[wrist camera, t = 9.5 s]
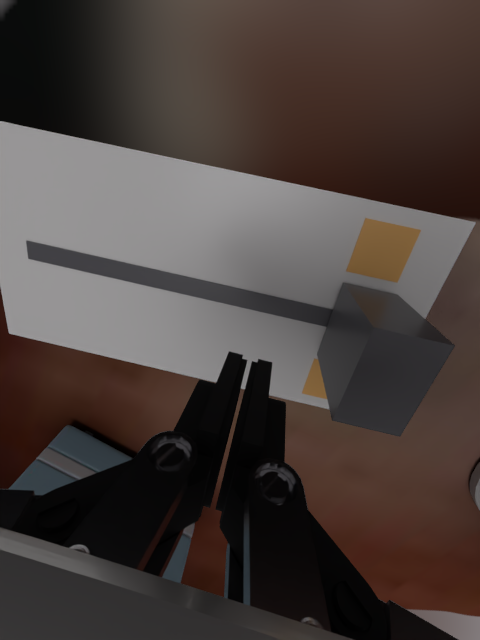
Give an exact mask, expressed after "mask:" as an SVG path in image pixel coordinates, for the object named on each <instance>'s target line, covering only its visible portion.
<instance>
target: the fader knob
mask: <svg viewBox="0 0 480 640" xmlns="http://www.w3.org/2000/svg"><path fill="white" fill-rule="evenodd" d="M454 346H455V345H454V344H452V343H451V342H450V341H449V340H448V339H447V338H446V337H445V336H443V335H442V334H441V333H440V332H439V331H438V330H437V329H436V328H435V327H433V326H432V325H431V324H430V323H429V322H428V321H427V320H426V319H424V318H423V317H422V316H421V315H420V314H419V313H418V312H417V311H415V310H414V309H413V308H412V307H411V306H410V305H409V304H408V303H406V302H405V301H404V300H403V299H402V298H401V297H400V296H399V295H397V294H393V293H388V292H384V291H379V290H375V289H370V288H366V287H361V286H357V285H352V284H348V283H343V284H342V287H341V290H340V292H339V295H338V298H337V300H336V303H335V306H334V309H333V311H332V314H331V317H330V320H329V322H328V325H327V328H326V331H325V333H324V336H323V339H322V341H321V344H320V347H319V350H318V352H317V356H318V361H319V365H320V369H321V374H322V378H323V382H324V387H325V391H326V396H327V400H328V404H329V409H330V413H331V418H332V421H337V422H341V423H345V424H349V425H353V426H358V427H362V428H366V429H370V430H374V431H379V432H383V433H387V434H391V435H395V436H401V434H402V432H403V431H404V429H405V427H406V426H407V424H408V422H409V421H410V419H411V418H412V416H413V414H414V413H415V411H416V409H417V408H418V406H419V404H420V403H421V401H422V399H423V398H424V396H425V394H426V393H427V391H428V389H429V388H430V386H431V384H432V383H433V381H434V379H435V378H436V376H437V375H438V373H439V371H440V370H441V368H442V366H443V365H444V363H445V361H446V360H447V358H448V356H449V355H450V353H451V351H452V350H453V348H454Z"/></svg>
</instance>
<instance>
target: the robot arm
mask: <svg viewBox="0 0 480 640" xmlns="http://www.w3.org/2000/svg"><path fill="white" fill-rule="evenodd" d="M242 357H243V355H242V354H238V353H234V352H230V351H229V353H228V355H227V358H226V360H225V362H224V365H223V367H222V370H221V372H220V375H219V377H218V380H217V382H216V384H215V383H211V382H208V381H204V380H199V381H198V383H197V385H196V387H195V389H194V391H193V393H192V395H191V397H190V399H189V401H188V403H187V405H186V407H185V409H184V411H183V413H182V415H181V417H180V419H179V421H178V423H177V425H176V427H175V429H174V431H165V432H161V433H159V434H157V435H155V436H153V437H152V438H151V439H149V440H148V441H147V442H146V444H145V445H144V446H143V447H142V448H141V450H140V451H139V452H138V453H137V455H136V456H135V457H134V458H133V459H132V460H129V461H127V462H124V463H121V464H119V465H116V466H113V467H111V468H108V469H106V470H103V471H100V472H98V473H95V474H93V475H90V476H87V477H85V478H82V479H80V480H77V481H74V482H72V483H69V484H67V485H64V486H61V487H59V488H56V489H54V490H52V491H50V492H48V493H46V494H44V495H35V493H34V491H33V490H11V489H0V640H458V639H456V638H455V637H453V636H451V635H449V634H448V633H446V632H444V631H442V630H441V629H439V628H437V627H436V626H434V625H432V624H430V623H429V622H427V621H425V620H423V619H422V618H420V617H418V616H417V615H415V614H413V613H411V612H410V611H408V610H406V609H404V608H403V607H401V606H399V605H398V604H396V603H394V602H392V601H391V600H389V601H388V602H387V603H385V602H383V601H381V600H380V599H378V598H377V596H376V595H375V593H374V592H373V590H372V589H371V587H370V586H369V584H368V583H367V582H366V581H365V579H364V578H363V577H362V576H361V575H360V573H359V572H358V571H357V570H356V568H355V567H354V566H353V565H352V563H351V562H350V561H349V560H348V559H347V557H346V556H345V555H344V554H343V552H342V551H341V550H340V549H339V547H338V546H337V545H336V544H335V543H334V541H333V540H332V539H331V538H330V536H329V535H328V534H327V533H326V531H325V530H324V529H323V528H322V527H321V525H320V524H319V523H318V522H317V520H316V519H315V518H314V517H313V515H312V514H311V513H310V512H309V511H308V508H307V503H306V498H305V493H304V487H303V484H302V481H301V478H300V477H299V475H298V474H297V472H296V471H295V470H294V469H293V468H292V467H291V466H290V465H288V464H287V463H285V462H284V457H285V418H286V403H285V402H283V401H279V400H275V399H271V398H269V389H270V380H271V372H272V362H269V361H265V360H261V359H258V362H253V361H252V363H251V367H250V371H249V375H248V379H247V383H246V387H245V391H244V395H243V399H242V403H241V407H240V411H239V415H238V419H237V423H236V427H235V431H234V435H233V439H232V444H231V448H230V452H229V456H228V460H227V464H226V468H225V472H224V477H223V481H222V485H221V489H220V493H219V497H218V501H217V505H216V510H219V511H222V515H221V519H220V529H221V530H222V532H223V534H224V536H225V538H226V539H227V541H228V545H227V553H226V573H225V592H224V597H221V596H218V595H215V594H212V593H208V592H205V591H202V590H199V589H196V588H193V587H190V586H187V585H183V584H180V583H177V582H174V581H171V580H168V579H165V578H162V576H163V574H164V572H165V570H166V568H167V566H168V564H169V562H170V560H171V558H172V555H173V553H174V551H175V549H176V547H177V545H178V543H179V541H180V539H181V537H182V534H183V531H184V528H186V527H188V526H189V525H191V524H193V523H195V522H196V521H198V519H199V517H200V516H201V512H202V509H203V506H206V507H209V508H210V506H211V502H212V498H213V494H214V490H215V487H216V483H217V479H218V475H219V471H220V468H221V464H222V460H223V456H224V452H225V448H226V445H227V441H228V437H229V433H230V429H231V425H232V422H233V418H234V414H235V410H236V405H237V401H238V397H239V393H240V389H241V385H242V381H243V377H244V372H245V368H246V364H247V360H246V359H242ZM470 494H471V496H472V499H473V501H474V502H475V504H476V505H477V507H478V508H479V510H480V462H479V463H478V465H477V466H476V468H475V470H474V471H473V473H472V476H471V480H470Z"/></svg>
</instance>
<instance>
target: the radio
mask: <svg viewBox="0 0 480 640" xmlns="http://www.w3.org/2000/svg"><path fill="white" fill-rule="evenodd" d="M132 459H133V458H131V457H129V456H127V455H126V454H124V453H122V452H120V451H118V450H116V449H114V448H112V447H111V446H109V445H107V444H105V443H103V442H101V441H99V440H98V439H96V438H94V437H93V434H92V433H90V432H89V431H87V430H86V431H85V432H83V431H81V430H79V429H77V428H75V427H73V426H70V425H67V426H66V427H64V429H63V430H62V431H61V432H60V433H59V434H58V435H57V436H56V437H55V438H54V440H53V441H52V442H51V443H50V444H49V445H48V447H47V448H46V449H44V451H43V452H42V453H41V454H40V455H39V456H38V457H37V459H36V460H35V461H34V462H33V463H32V464H31V465H30V466H29V467H28V468H27V469H26V471H25V472H24V473H23V474H22V475H21V476H20V477H19V478H18V479H17V480H16V482H15V483H14V484H13V485H12V486H11V487H10V488H9V489H11V490H33V491H34V493H35V495H44V494H46V493H48V492H50V491H52V490H54V489H56V488H59V487H61V486H64V485H67V484H69V483H72V482H74V481H77V480H80V479H82V478H85V477H87V476H90V475H93V474H95V473H98V472H100V471H103V470H106V469H108V468H111V467H113V466H116V465H119V464H121V463H124V462H127V461H129V460H132ZM194 524H195V523H193V524H191V525H189V526H188V527H186V528H184V531H183V534H182V537H181V539H180V541H179V543H178V545H177V547H176V549H175V551H174V553H173V555H172V558H171V560H170V562H169V564H168V566H167V568H166V570H165V572H164V574H163V576H162V578H165V579H168V580H171V581H174V582H177V583H180V582H181V578H182V574H183V570H184V566H185V562H186V558H187V554H188V550H189V546H190V542H191V537H192V534H193V531H194V526H195V525H194Z"/></svg>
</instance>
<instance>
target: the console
mask: <svg viewBox="0 0 480 640" xmlns="http://www.w3.org/2000/svg"><path fill="white" fill-rule="evenodd" d="M475 224H476V222H472V221H467V220H462V219H458V218H453V217H448V216H443V215H439V214H434V213H429V212H425V211H420V210H415V209H411V208H406V207H401V206H396V205H391V204H387V203H382V202H378V201H372V200H368V199H364V198H358V197H354V196H349V195H344V194H340V193H335V192H331V191H326V190H321V189H316V188H312V187H307V186H302V185H298V184H292V183H288V182H284V181H279V180H274V179H269V178H265V177H260V176H255V175H251V174H246V173H241V172H237V171H232V170H227V169H222V168H218V167H212V166H208V165H204V164H199V163H194V162H190V161H185V160H180V159H175V158H171V157H166V156H161V155H156V154H152V153H147V152H142V151H138V150H133V149H128V148H123V147H119V146H114V145H110V144H105V143H100V142H96V141H90V140H86V139H81V138H77V137H72V136H67V135H63V134H58V133H53V132H48V131H44V130H39V129H34V128H29V127H25V126H20V125H16V124H11V123H6V122H1V121H0V287H1V292H2V298H3V303H4V309H5V314H6V320H7V325H8V331H9V333H10V334H14V335H18V336H22V337H26V338H31V339H35V340H39V341H43V342H48V343H52V344H56V345H60V346H64V347H69V348H73V349H77V350H81V351H85V352H90V353H94V354H98V355H102V356H107V357H111V358H115V359H119V360H123V361H128V362H132V363H136V364H140V365H144V366H149V367H153V368H157V369H161V370H166V371H170V372H174V373H178V374H182V375H187V376H191V377H195V378H199V379H203V380H208V381H212V382H217V380H218V377H219V375H220V372H221V370H222V367H223V365H224V362H225V360H226V358H227V355H228V353H229V351H230V352H234V353H238V354H242V355H243V357H242V359H246V360H247V364H246V368H245V372H244V377H243V381H242V385H241V389H245V387H246V383H247V379H248V375H249V371H250V367H251V363H252V361H253V362H258V359H261V360H265V361H269V362H272V372H271V380H270V389H269V395H271V396H275V397H279V398H284V399H288V400H292V401H296V402H300V403H305V404H309V405H313V406H317V407H322V408H326V409H329V404H328V400H327V396H326V391H325V387H324V382H323V378H322V374H321V369H320V365H319V361H318V356H317V352H318V350H319V347H320V344H321V341H322V339H323V336H324V333H325V331H326V328H327V325H328V322H329V320H330V317H331V314H332V311H333V309H334V306H335V303H336V300H337V298H338V295H339V292H340V290H341V287H342V284H343V283H348V284H352V285H357V286H361V287H366V288H370V289H375V290H379V291H384V292H388V293H393V294H397V295H399V296H400V297H401V298H402V299H403V300H404V301H405V302H406V303H408V304H409V305H410V306H411V307H412V308H413V309H414V310H415V311H417V312H418V313H419V314H420V315H421V316H422V317H423V318H424V319H425V318H426V316H427V315H428V313H429V311H430V309H431V307H432V305H433V303H434V301H435V299H436V297H437V296H438V294H439V292H440V290H441V288H442V286H443V284H444V282H445V280H446V279H447V277H448V275H449V273H450V271H451V269H452V267H453V265H454V263H455V261H456V260H457V258H458V256H459V254H460V252H461V250H462V248H463V246H464V244H465V242H466V241H467V239H468V237H469V235H470V233H471V231H472V229H473V227H474V225H475Z"/></svg>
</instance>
